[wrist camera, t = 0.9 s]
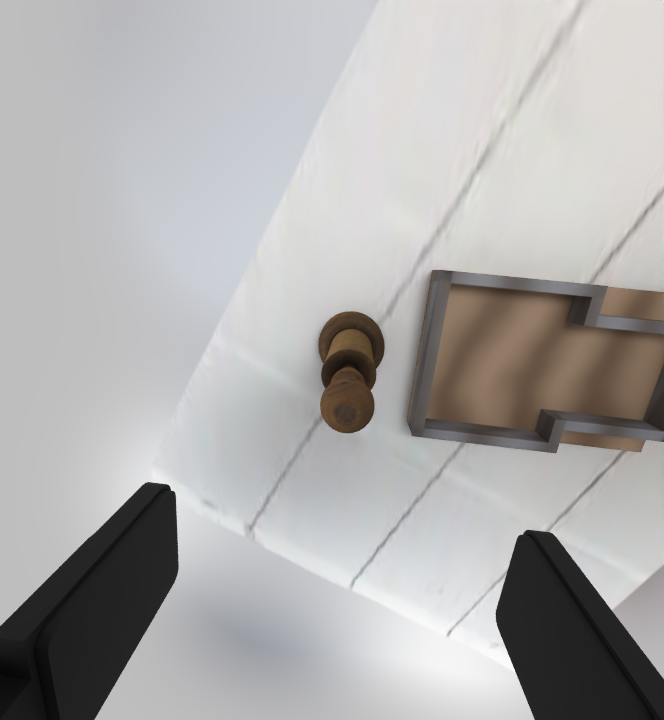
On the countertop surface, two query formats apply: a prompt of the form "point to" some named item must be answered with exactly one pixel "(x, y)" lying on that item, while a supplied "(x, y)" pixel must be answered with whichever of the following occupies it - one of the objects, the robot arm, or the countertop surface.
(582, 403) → the keyhole board
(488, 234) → the countertop surface
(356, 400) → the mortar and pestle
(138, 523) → the robot arm
